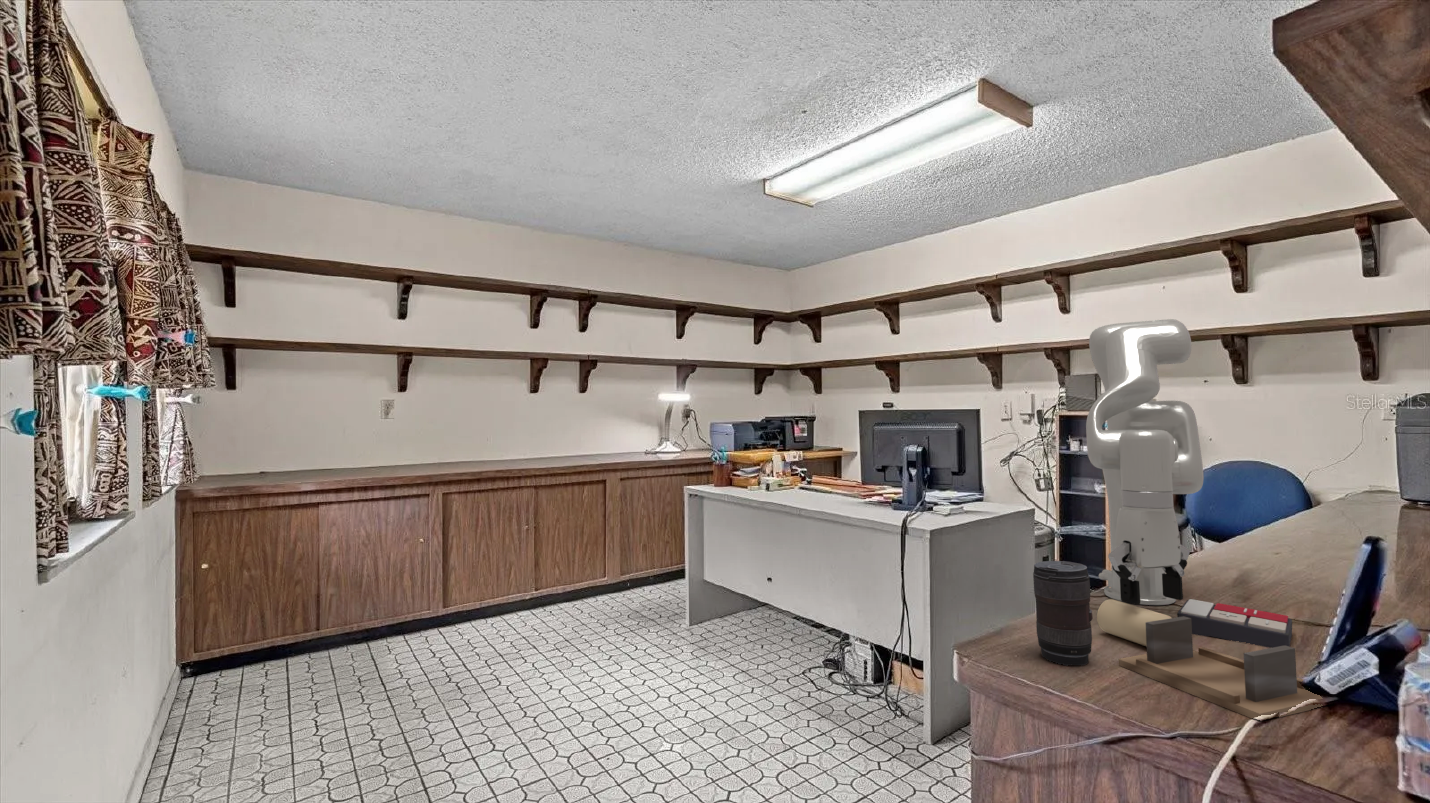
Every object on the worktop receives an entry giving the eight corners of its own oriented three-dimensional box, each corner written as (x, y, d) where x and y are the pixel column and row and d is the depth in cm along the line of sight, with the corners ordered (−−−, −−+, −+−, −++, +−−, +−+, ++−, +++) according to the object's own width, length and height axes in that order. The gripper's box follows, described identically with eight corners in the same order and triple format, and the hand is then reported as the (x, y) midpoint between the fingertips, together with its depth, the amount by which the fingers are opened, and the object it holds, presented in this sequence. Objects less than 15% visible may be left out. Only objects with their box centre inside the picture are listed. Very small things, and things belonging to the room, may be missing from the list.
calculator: (1289, 630, 104) (1176, 608, 115) (1288, 656, 104) (1176, 632, 115) (1292, 614, 112) (1187, 595, 123) (1292, 638, 112) (1186, 617, 123)
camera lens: (1053, 645, 109) (1049, 557, 110) (1103, 659, 103) (1099, 565, 103) (1026, 656, 105) (1022, 564, 105) (1076, 671, 98) (1072, 573, 99)
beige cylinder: (1120, 634, 116) (1094, 630, 114) (1125, 601, 117) (1099, 596, 115) (1174, 653, 106) (1147, 649, 105) (1179, 617, 107) (1152, 612, 105)
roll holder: (1118, 665, 100) (1116, 620, 100) (1184, 653, 104) (1182, 609, 105) (1260, 721, 81) (1257, 665, 81) (1334, 704, 85) (1331, 651, 86)
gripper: (1163, 497, 118) (1168, 591, 117) (1090, 500, 113) (1094, 599, 112) (1205, 501, 111) (1210, 601, 110) (1128, 504, 106) (1133, 610, 105)
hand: (1152, 600), depth 111 cm, fingers open, 9 cm apart
